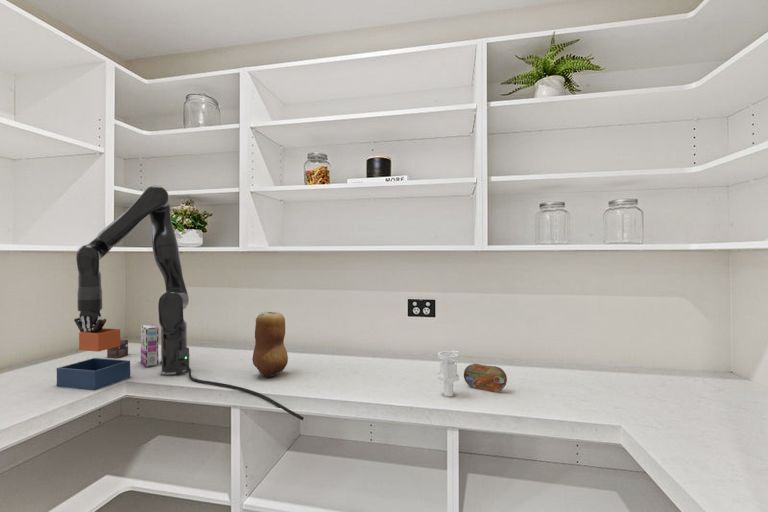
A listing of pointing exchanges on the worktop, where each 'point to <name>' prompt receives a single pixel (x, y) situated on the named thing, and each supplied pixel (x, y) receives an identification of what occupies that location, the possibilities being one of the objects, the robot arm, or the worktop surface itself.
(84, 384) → the big bin
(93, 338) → the small bin
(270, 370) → the butternut squash
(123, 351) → the box
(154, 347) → the candy bar box
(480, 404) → the worktop surface
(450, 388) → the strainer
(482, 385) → the tin
